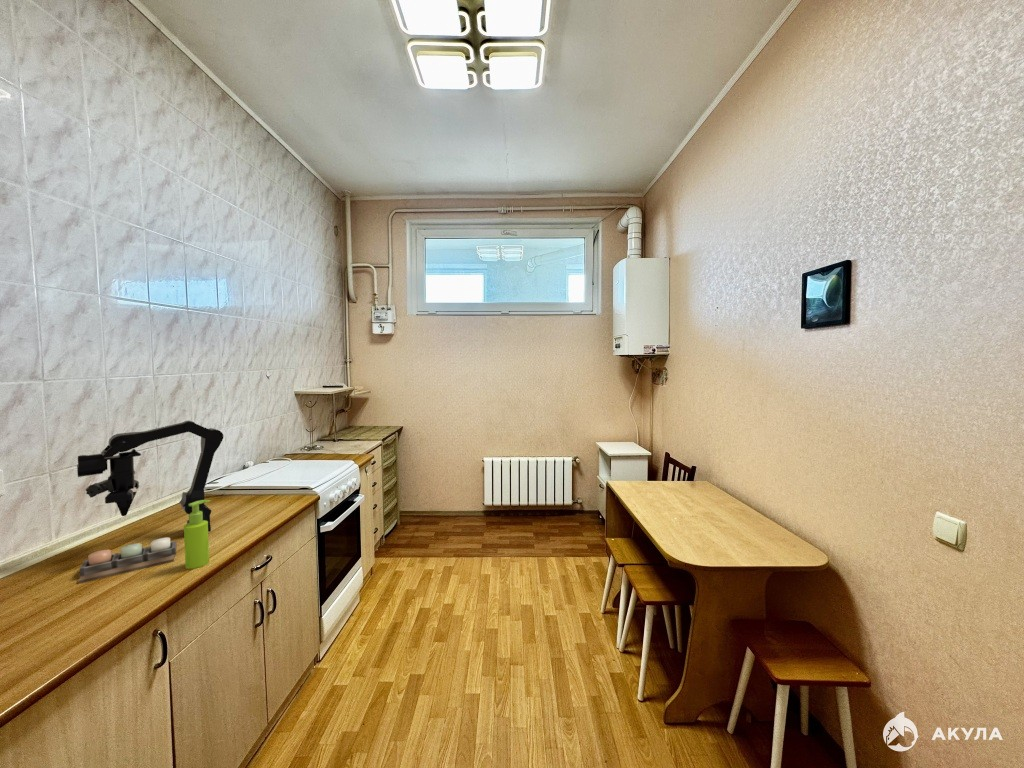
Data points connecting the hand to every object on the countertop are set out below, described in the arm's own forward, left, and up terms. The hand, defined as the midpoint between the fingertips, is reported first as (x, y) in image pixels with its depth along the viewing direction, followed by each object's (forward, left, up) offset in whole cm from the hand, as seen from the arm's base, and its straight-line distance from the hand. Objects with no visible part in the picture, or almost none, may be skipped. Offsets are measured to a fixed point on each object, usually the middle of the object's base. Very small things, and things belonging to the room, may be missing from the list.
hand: (124, 515), depth 133 cm
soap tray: (-3, +14, -12) cm, 19 cm away
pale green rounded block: (-3, +14, -11) cm, 18 cm away
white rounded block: (-10, +14, -11) cm, 20 cm away
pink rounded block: (+4, +14, -11) cm, 18 cm away
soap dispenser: (-20, +28, -12) cm, 37 cm away
